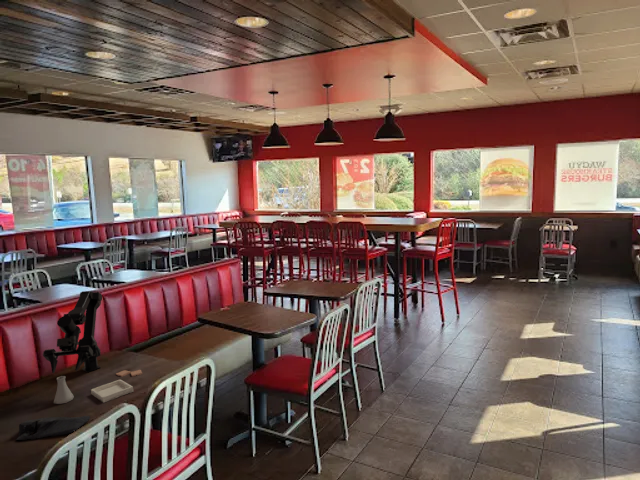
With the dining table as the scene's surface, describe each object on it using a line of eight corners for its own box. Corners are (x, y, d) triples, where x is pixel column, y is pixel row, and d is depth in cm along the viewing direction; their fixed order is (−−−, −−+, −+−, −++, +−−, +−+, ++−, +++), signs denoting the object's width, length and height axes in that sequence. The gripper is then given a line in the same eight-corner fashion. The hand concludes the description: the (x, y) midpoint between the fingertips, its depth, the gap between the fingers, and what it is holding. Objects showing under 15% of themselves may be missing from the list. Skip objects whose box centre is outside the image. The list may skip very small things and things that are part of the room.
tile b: (130, 374, 221) (130, 372, 221) (140, 372, 223) (140, 369, 223) (132, 377, 217) (131, 375, 217) (142, 375, 219) (142, 372, 219)
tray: (91, 394, 200) (90, 389, 200) (120, 384, 209) (120, 379, 209) (103, 402, 192) (102, 397, 191) (133, 391, 201) (133, 386, 200)
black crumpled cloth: (74, 438, 166) (73, 426, 165) (11, 443, 165) (9, 430, 164) (93, 417, 181) (92, 405, 180) (35, 421, 180) (34, 409, 180)
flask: (77, 396, 199) (74, 373, 198) (66, 404, 192) (63, 381, 191) (61, 396, 200) (58, 374, 199) (50, 404, 193) (46, 381, 192)
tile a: (116, 376, 220) (116, 373, 220) (124, 372, 224) (124, 370, 224) (121, 377, 218) (121, 375, 218) (130, 374, 221) (130, 371, 221)
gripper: (41, 331, 201) (33, 366, 192) (87, 327, 204) (81, 361, 194) (51, 343, 210) (44, 377, 200) (95, 339, 212) (90, 372, 203)
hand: (64, 371), depth 199 cm, fingers open, 9 cm apart
